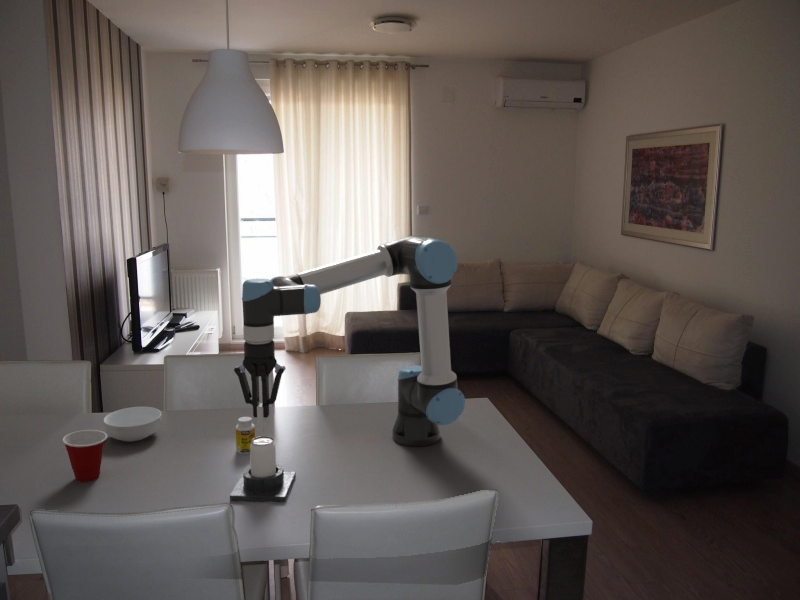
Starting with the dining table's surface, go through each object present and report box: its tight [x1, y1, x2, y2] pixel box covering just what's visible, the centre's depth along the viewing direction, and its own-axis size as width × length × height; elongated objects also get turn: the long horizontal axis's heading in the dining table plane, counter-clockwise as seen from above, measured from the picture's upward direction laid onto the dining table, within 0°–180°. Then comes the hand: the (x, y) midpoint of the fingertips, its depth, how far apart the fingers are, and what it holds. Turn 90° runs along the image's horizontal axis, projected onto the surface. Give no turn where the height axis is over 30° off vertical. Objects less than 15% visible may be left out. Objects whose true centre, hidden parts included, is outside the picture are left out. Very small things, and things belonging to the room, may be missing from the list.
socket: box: [229, 463, 297, 503], centre depth 166 cm, size 14×14×5 cm
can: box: [249, 435, 277, 478], centre depth 165 cm, size 6×6×12 cm
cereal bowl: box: [103, 406, 163, 443], centre depth 198 cm, size 17×17×7 cm
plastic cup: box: [62, 429, 108, 483], centre depth 170 cm, size 11×11×12 cm
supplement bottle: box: [235, 416, 256, 455], centre depth 188 cm, size 6×6×10 cm
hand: (261, 428), depth 163 cm, fingers closed
